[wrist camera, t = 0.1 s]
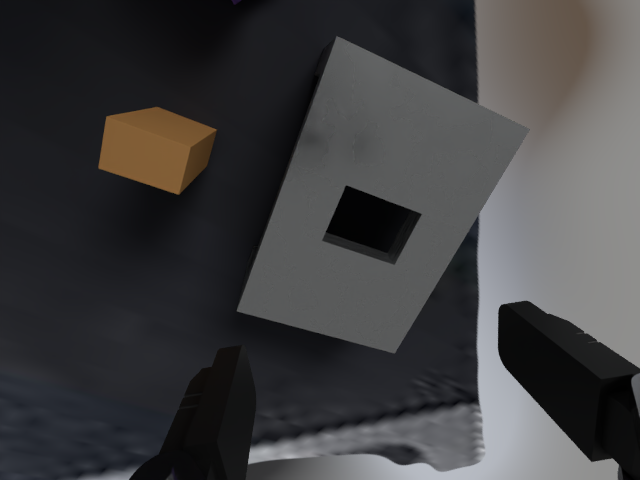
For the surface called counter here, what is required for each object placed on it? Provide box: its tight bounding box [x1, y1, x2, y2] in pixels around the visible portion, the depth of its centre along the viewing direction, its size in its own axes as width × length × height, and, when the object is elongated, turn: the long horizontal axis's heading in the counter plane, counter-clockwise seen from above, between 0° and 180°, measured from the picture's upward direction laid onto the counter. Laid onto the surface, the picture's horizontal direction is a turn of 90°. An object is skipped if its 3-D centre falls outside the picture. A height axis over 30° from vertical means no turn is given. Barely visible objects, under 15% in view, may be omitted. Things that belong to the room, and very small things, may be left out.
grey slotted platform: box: [237, 36, 530, 353], centre depth 28 cm, size 20×14×8 cm
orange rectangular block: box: [99, 107, 217, 195], centre depth 24 cm, size 3×4×10 cm, turn 68°
